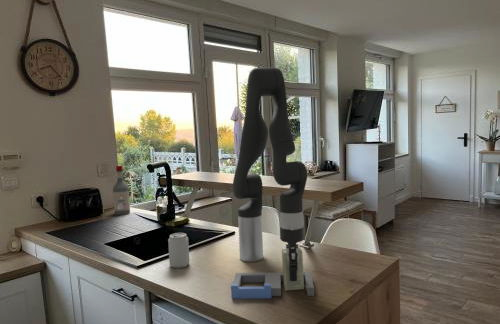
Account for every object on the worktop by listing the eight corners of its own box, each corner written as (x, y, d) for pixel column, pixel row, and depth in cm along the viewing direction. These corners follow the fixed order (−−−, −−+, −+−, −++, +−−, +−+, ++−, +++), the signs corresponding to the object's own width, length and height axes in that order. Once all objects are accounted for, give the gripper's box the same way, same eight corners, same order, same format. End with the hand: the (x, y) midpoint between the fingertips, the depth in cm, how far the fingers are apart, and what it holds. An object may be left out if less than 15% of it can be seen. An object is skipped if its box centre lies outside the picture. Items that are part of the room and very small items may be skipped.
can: (167, 263, 144) (166, 233, 142) (187, 260, 146) (185, 230, 145) (171, 270, 137) (170, 238, 136) (191, 266, 140) (190, 235, 138)
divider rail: (236, 280, 126) (235, 268, 126) (310, 279, 125) (310, 267, 124) (231, 298, 113) (231, 285, 112) (314, 298, 111) (314, 285, 111)
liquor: (130, 214, 230) (126, 166, 227) (114, 215, 227) (111, 167, 224) (130, 211, 239) (126, 164, 236) (114, 212, 236) (111, 165, 233)
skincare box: (302, 283, 121) (301, 247, 120) (304, 289, 117) (303, 251, 116) (282, 284, 121) (281, 248, 120) (284, 290, 117) (283, 252, 116)
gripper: (279, 219, 124) (280, 268, 126) (280, 231, 110) (281, 287, 112) (301, 219, 124) (303, 268, 125) (305, 231, 110) (306, 287, 111)
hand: (293, 277), depth 119 cm, fingers closed on skincare box, 4 cm apart
